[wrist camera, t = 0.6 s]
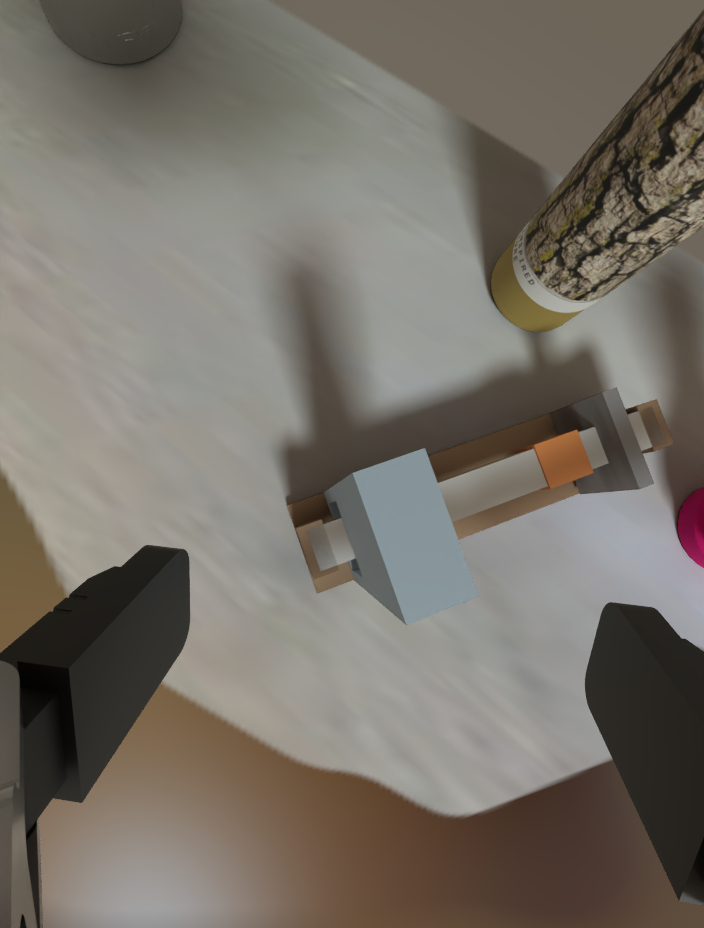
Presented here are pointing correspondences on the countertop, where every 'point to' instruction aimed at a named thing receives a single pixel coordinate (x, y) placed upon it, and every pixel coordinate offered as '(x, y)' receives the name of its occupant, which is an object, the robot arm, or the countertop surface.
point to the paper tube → (615, 200)
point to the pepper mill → (693, 526)
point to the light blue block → (402, 537)
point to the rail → (449, 470)
